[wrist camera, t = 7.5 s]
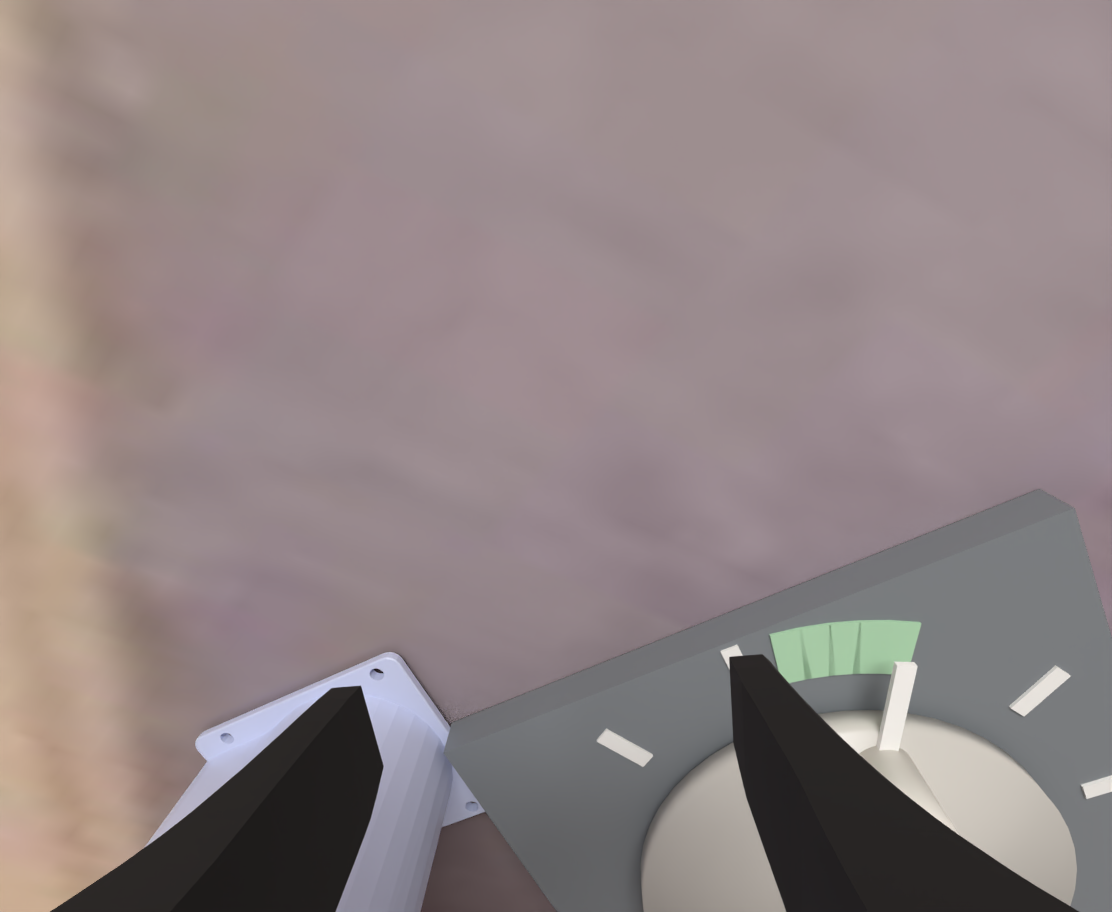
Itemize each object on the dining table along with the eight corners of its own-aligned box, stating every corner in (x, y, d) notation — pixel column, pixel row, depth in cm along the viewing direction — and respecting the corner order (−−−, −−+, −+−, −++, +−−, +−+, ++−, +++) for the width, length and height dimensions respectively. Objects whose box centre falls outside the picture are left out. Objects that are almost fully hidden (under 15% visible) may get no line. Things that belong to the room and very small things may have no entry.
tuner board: (682, 1053, 30) (687, 1099, 28) (451, 722, 24) (442, 757, 22) (1172, 928, 26) (1211, 974, 24) (1039, 488, 20) (1079, 510, 18)
